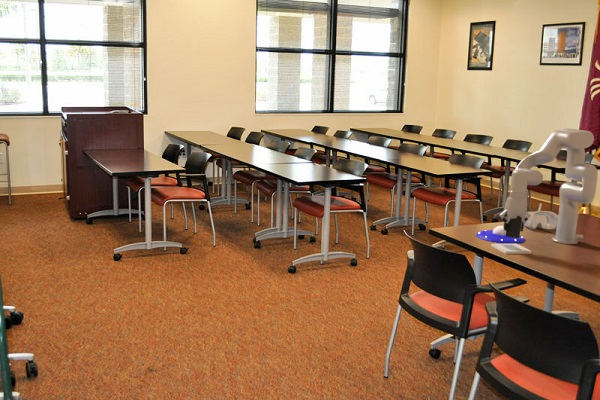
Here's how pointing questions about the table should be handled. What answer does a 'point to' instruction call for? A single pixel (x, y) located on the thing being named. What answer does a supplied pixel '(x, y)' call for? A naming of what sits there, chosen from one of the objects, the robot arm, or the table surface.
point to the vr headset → (542, 219)
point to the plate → (511, 248)
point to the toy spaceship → (499, 236)
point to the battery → (514, 227)
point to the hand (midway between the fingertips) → (513, 230)
